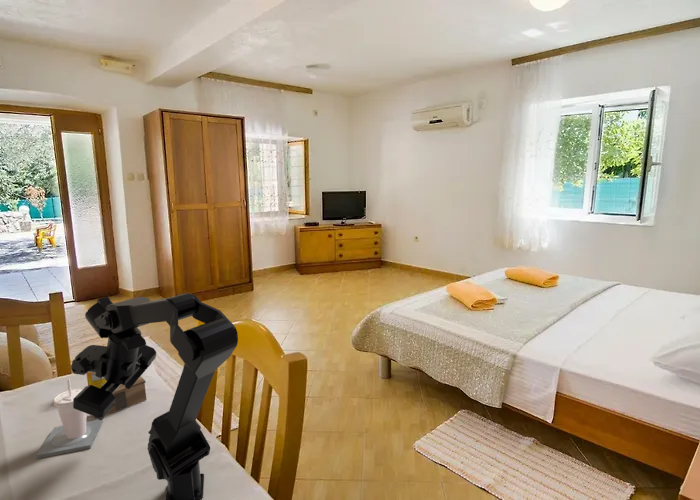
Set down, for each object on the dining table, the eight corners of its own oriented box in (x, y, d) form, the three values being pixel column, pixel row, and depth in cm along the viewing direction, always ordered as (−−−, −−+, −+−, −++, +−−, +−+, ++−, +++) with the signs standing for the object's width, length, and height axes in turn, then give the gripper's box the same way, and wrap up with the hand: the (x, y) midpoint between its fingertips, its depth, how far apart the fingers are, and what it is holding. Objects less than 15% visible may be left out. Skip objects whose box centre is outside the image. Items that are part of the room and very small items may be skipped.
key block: (147, 399, 107) (145, 380, 105) (94, 420, 98) (91, 399, 97) (143, 395, 109) (140, 376, 108) (90, 414, 100) (87, 394, 99)
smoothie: (59, 446, 87) (49, 388, 84) (59, 431, 92) (50, 376, 90) (93, 435, 91) (85, 379, 88) (92, 421, 96) (84, 368, 93)
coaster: (90, 448, 88) (90, 444, 88) (37, 458, 85) (36, 454, 85) (103, 422, 97) (102, 418, 97) (55, 430, 94) (54, 426, 94)
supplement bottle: (90, 386, 114) (86, 354, 112) (112, 382, 116) (108, 351, 114) (87, 395, 109) (82, 362, 107) (110, 391, 111) (105, 358, 109)
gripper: (115, 311, 89) (108, 361, 96) (47, 366, 72) (44, 423, 79) (162, 330, 90) (152, 378, 96) (105, 389, 73) (97, 443, 79)
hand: (114, 402), depth 88 cm, fingers open, 9 cm apart
